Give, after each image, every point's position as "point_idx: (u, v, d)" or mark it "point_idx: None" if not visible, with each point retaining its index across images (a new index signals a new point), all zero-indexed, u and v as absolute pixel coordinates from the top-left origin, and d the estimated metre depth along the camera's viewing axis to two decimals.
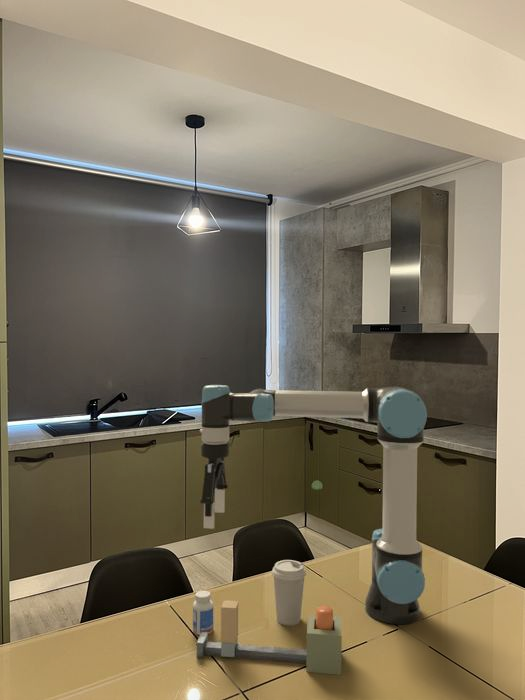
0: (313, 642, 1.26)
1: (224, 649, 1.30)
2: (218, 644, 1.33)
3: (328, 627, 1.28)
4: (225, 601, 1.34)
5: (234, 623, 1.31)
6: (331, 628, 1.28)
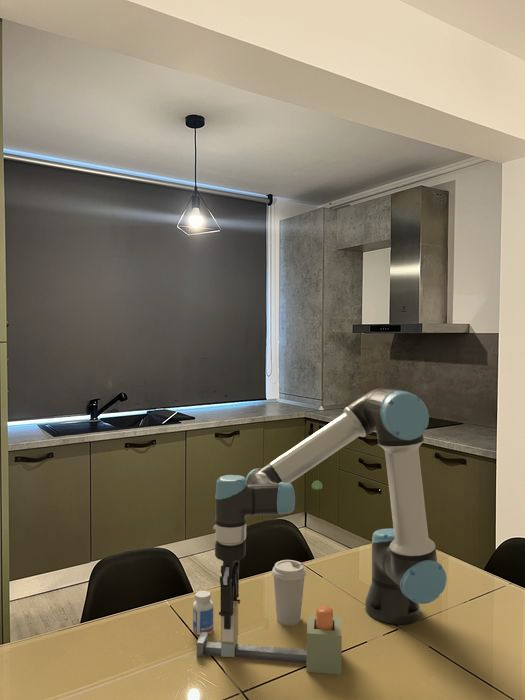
0: (313, 642, 1.26)
1: (224, 649, 1.30)
2: (218, 644, 1.33)
3: (328, 627, 1.28)
4: None
5: (234, 623, 1.31)
6: (331, 628, 1.28)
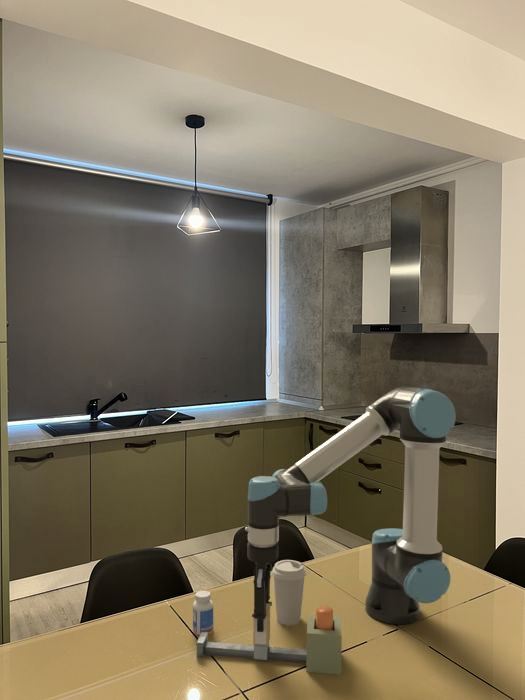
0: (313, 642, 1.26)
1: (257, 652, 1.29)
2: (218, 644, 1.33)
3: (328, 627, 1.28)
4: None
5: (267, 625, 1.30)
6: (331, 628, 1.28)
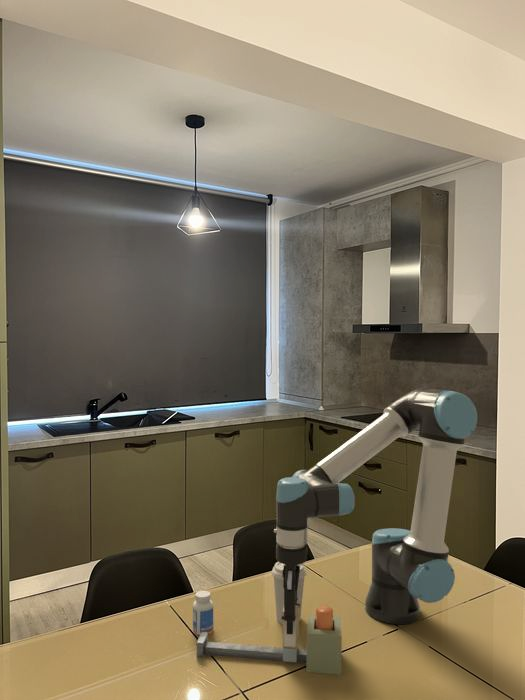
0: (313, 642, 1.26)
1: (286, 654, 1.29)
2: (218, 644, 1.33)
3: (328, 627, 1.28)
4: None
5: (296, 628, 1.29)
6: (331, 628, 1.28)
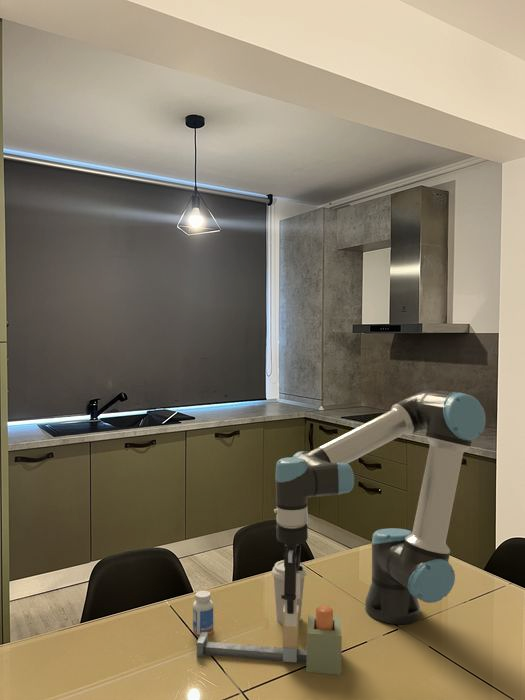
0: (313, 642, 1.26)
1: (286, 654, 1.29)
2: (218, 644, 1.33)
3: (328, 627, 1.28)
4: None
5: (296, 628, 1.29)
6: (331, 628, 1.28)
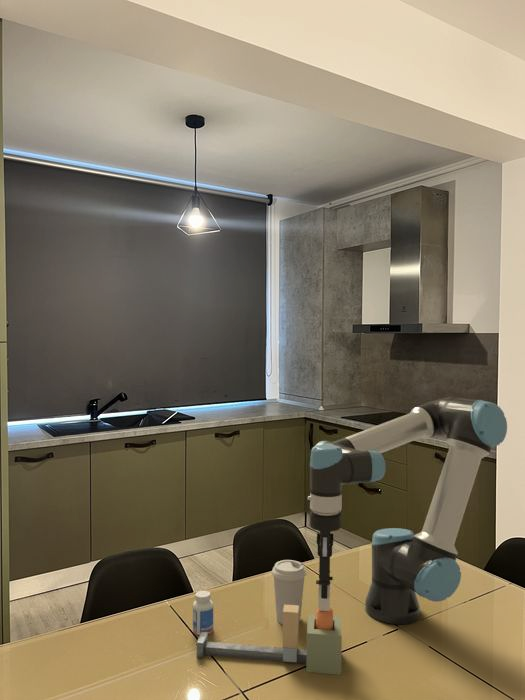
0: (313, 642, 1.26)
1: (286, 654, 1.29)
2: (218, 644, 1.33)
3: (328, 627, 1.28)
4: (285, 605, 1.32)
5: (296, 628, 1.29)
6: (331, 628, 1.28)
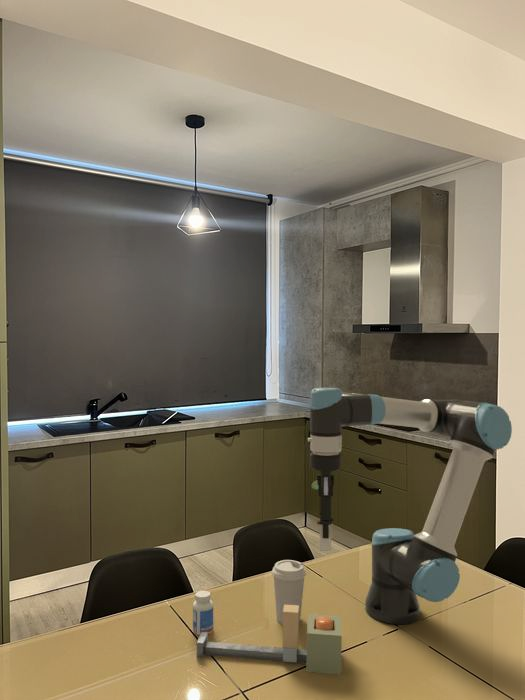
0: (313, 642, 1.26)
1: (286, 654, 1.29)
2: (218, 644, 1.33)
3: None
4: (285, 605, 1.32)
5: (296, 628, 1.29)
6: None
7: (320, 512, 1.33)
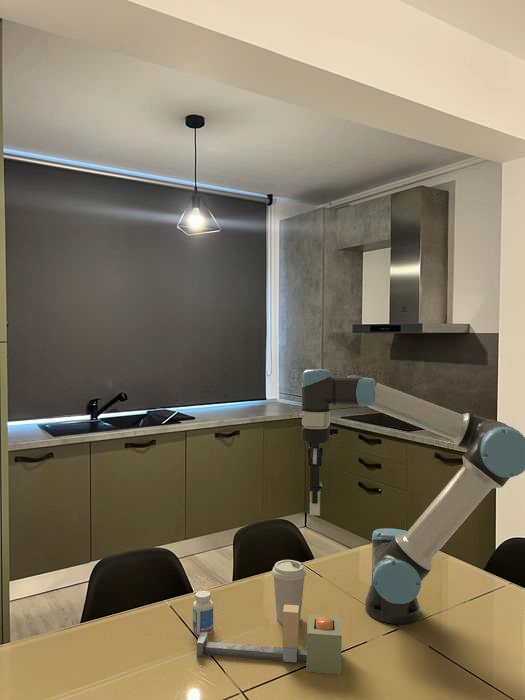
0: (313, 642, 1.26)
1: (286, 654, 1.29)
2: (218, 644, 1.33)
3: None
4: (285, 605, 1.32)
5: (296, 628, 1.29)
6: None
7: None
